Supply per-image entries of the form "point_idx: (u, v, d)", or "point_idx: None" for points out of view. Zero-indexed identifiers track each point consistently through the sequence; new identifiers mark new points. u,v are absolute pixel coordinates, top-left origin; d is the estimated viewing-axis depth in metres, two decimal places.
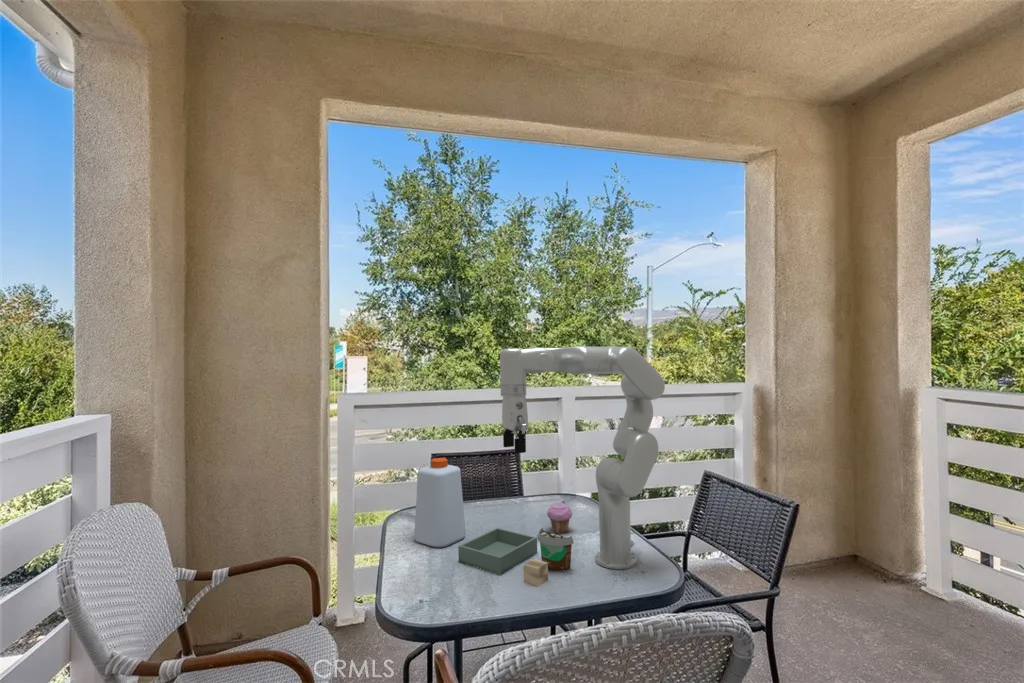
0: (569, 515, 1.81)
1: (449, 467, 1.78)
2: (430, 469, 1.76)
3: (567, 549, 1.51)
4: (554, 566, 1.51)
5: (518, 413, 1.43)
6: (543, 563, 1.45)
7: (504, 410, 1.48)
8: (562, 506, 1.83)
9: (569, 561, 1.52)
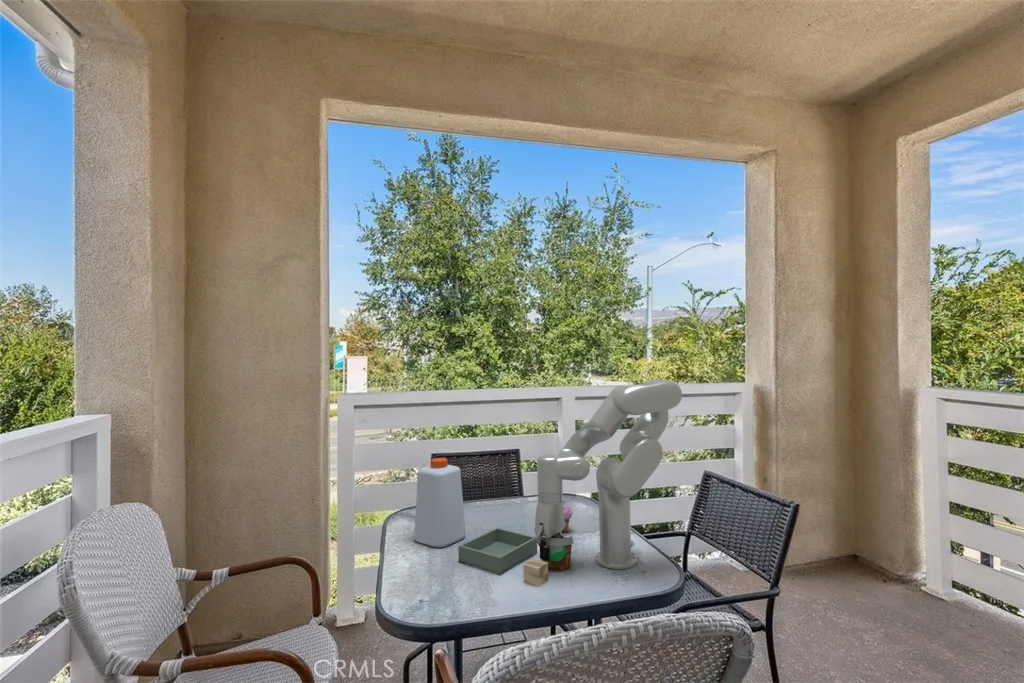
0: (569, 515, 1.81)
1: (449, 467, 1.78)
2: (430, 469, 1.76)
3: (567, 549, 1.51)
4: (554, 566, 1.51)
5: None
6: (543, 563, 1.45)
7: (555, 517, 1.51)
8: None
9: (569, 561, 1.52)
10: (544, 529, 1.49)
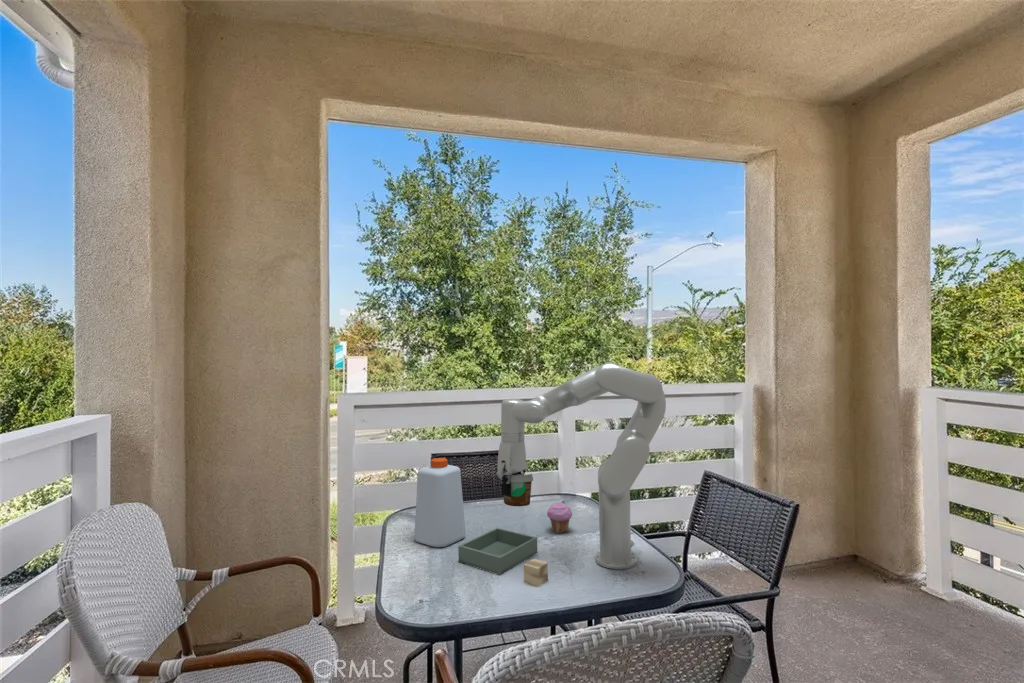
0: (569, 515, 1.81)
1: (449, 467, 1.78)
2: (430, 469, 1.76)
3: (527, 485, 1.61)
4: (514, 501, 1.61)
5: None
6: (543, 563, 1.45)
7: (516, 456, 1.61)
8: (562, 506, 1.83)
9: (528, 498, 1.62)
10: (506, 466, 1.59)
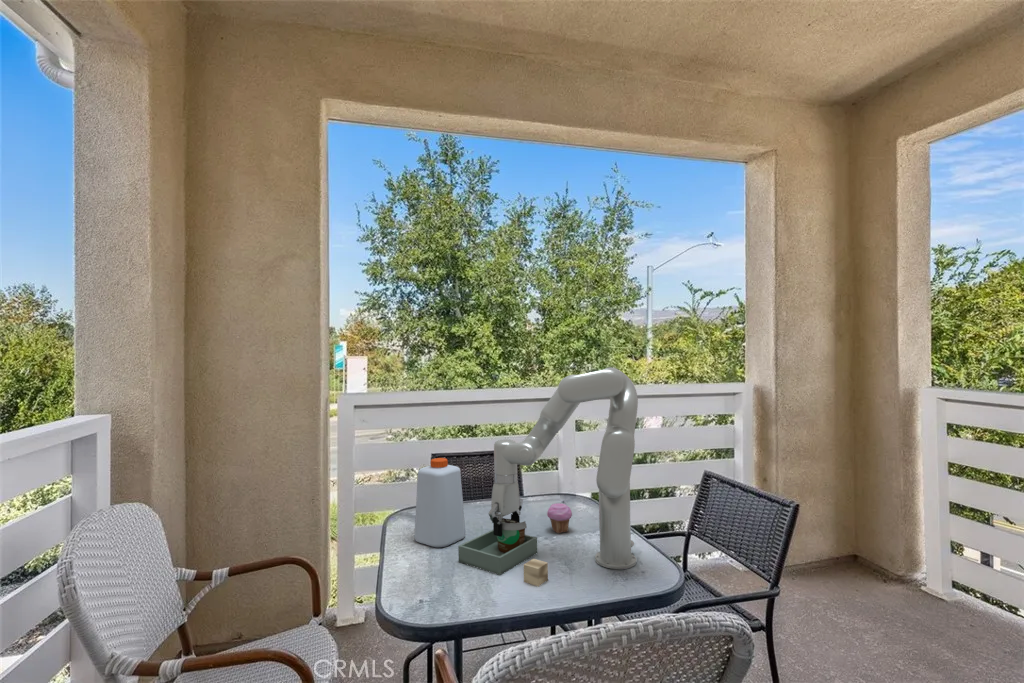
0: (569, 515, 1.81)
1: (449, 467, 1.78)
2: (430, 469, 1.76)
3: (521, 533, 1.63)
4: (508, 549, 1.62)
5: None
6: (543, 563, 1.45)
7: (510, 497, 1.63)
8: (562, 506, 1.83)
9: None
10: (499, 508, 1.61)
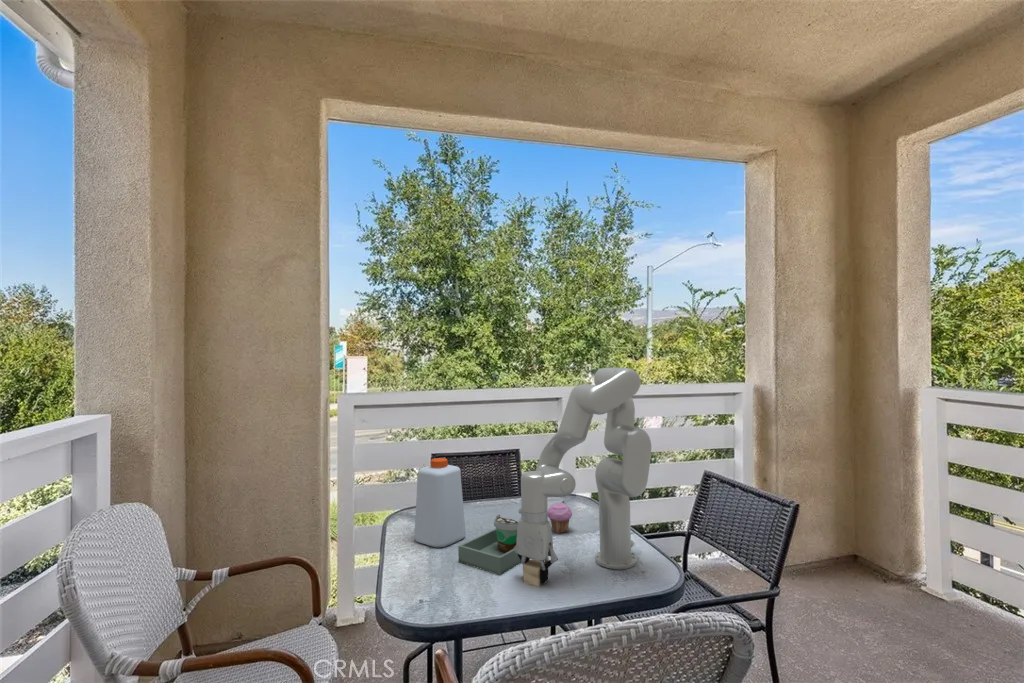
0: (569, 515, 1.81)
1: (449, 467, 1.78)
2: (430, 469, 1.76)
3: None
4: (508, 549, 1.62)
5: None
6: None
7: None
8: (562, 506, 1.83)
9: None
10: (551, 547, 1.43)
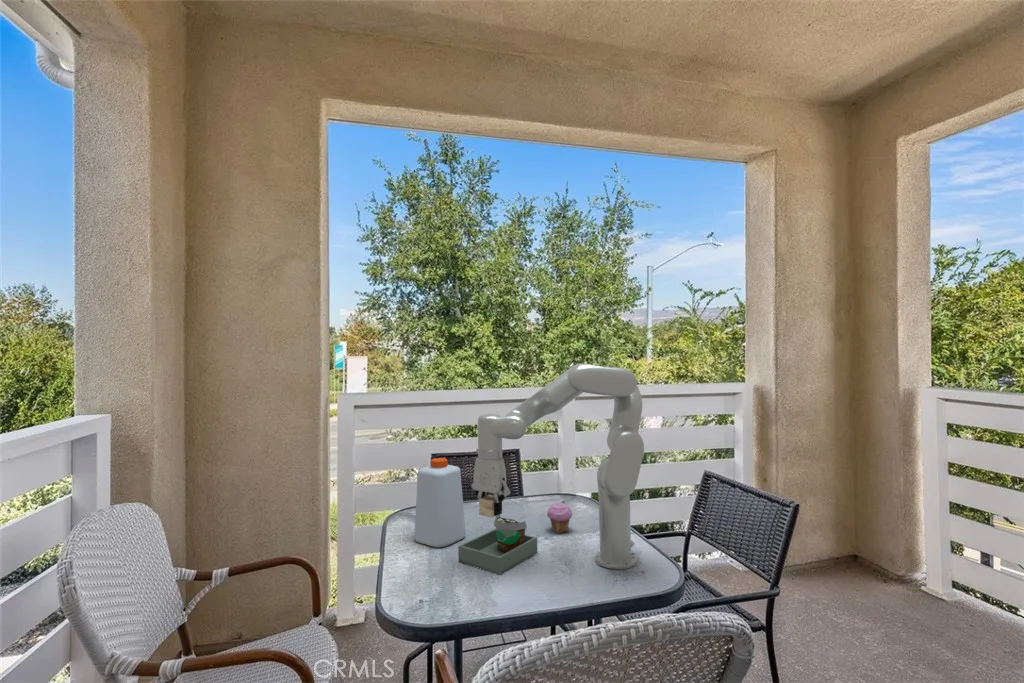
0: (569, 515, 1.81)
1: (449, 467, 1.78)
2: (430, 469, 1.76)
3: (521, 533, 1.63)
4: (508, 549, 1.62)
5: None
6: None
7: None
8: (562, 506, 1.83)
9: None
10: (505, 482, 1.56)
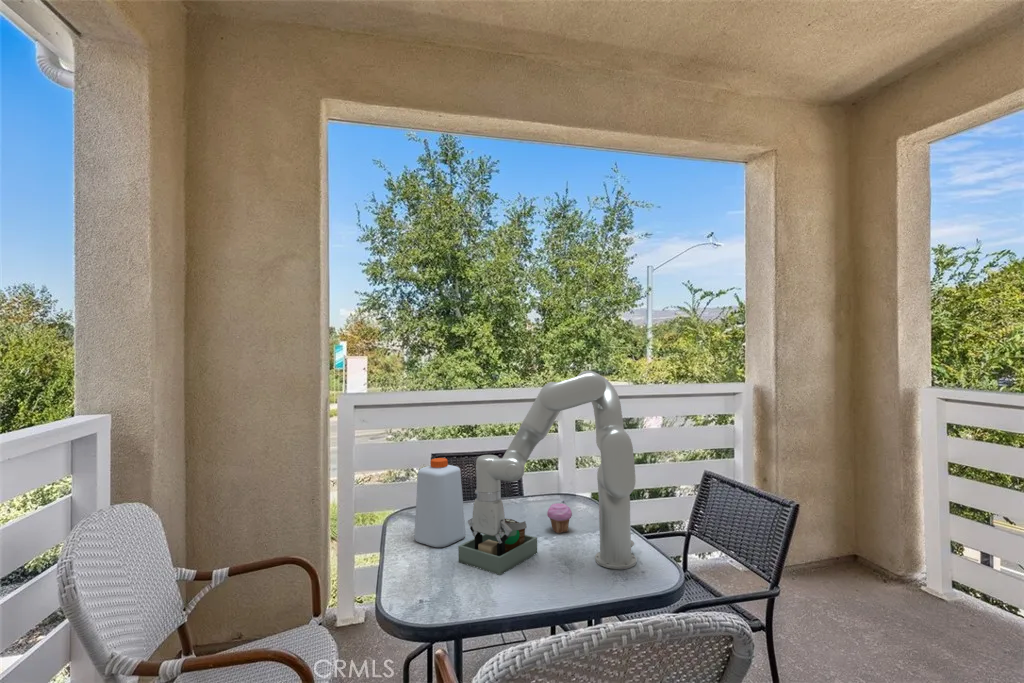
0: (569, 515, 1.81)
1: (449, 467, 1.78)
2: (430, 469, 1.76)
3: (521, 533, 1.63)
4: (508, 549, 1.62)
5: None
6: (496, 543, 1.58)
7: None
8: (562, 506, 1.83)
9: None
10: None
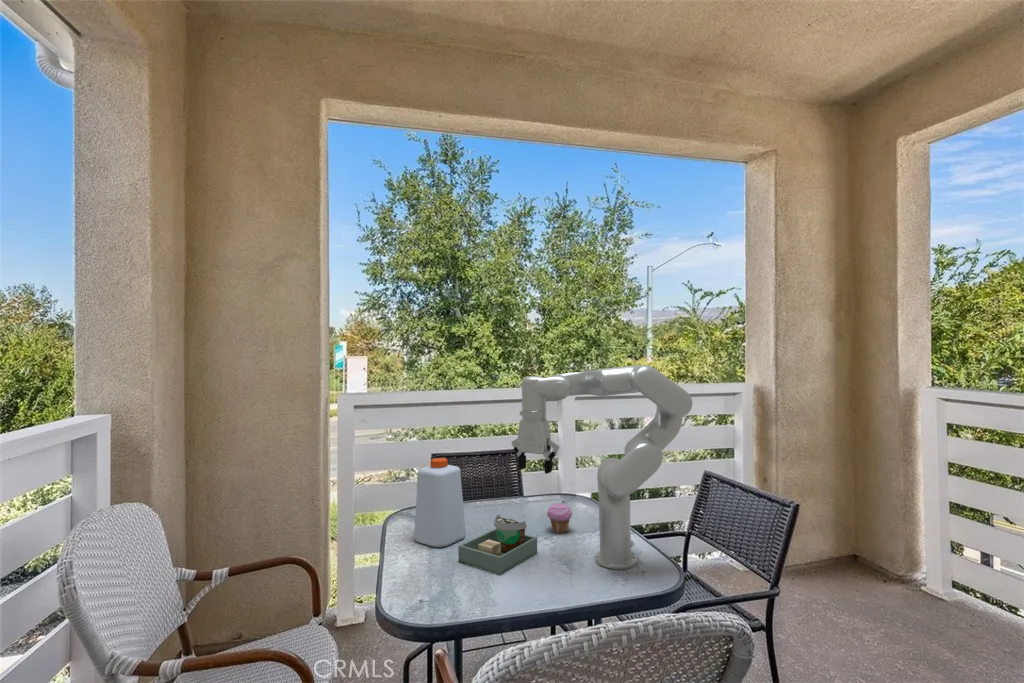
0: (569, 515, 1.81)
1: (449, 467, 1.78)
2: (430, 469, 1.76)
3: (521, 533, 1.63)
4: (508, 549, 1.62)
5: None
6: (496, 543, 1.58)
7: None
8: (562, 506, 1.83)
9: None
10: None
